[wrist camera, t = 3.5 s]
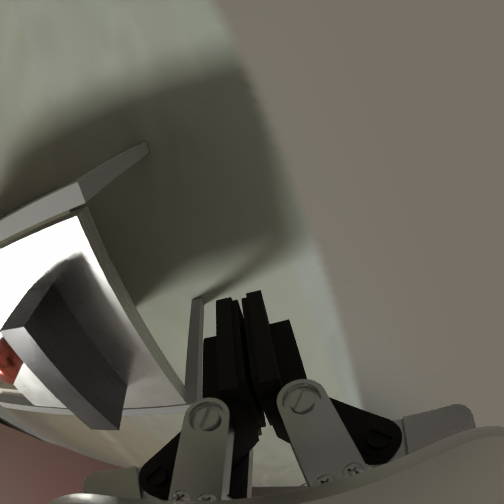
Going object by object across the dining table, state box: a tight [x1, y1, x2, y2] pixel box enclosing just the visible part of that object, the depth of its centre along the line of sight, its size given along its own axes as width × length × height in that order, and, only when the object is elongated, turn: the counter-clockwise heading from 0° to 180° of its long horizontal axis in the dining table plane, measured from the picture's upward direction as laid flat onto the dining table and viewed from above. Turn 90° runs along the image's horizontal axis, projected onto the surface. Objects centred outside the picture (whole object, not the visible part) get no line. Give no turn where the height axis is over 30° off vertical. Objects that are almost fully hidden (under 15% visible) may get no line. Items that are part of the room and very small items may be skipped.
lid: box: [0, 206, 187, 430], centre depth 11 cm, size 11×13×4 cm
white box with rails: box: [0, 142, 204, 416], centre depth 16 cm, size 14×22×10 cm, turn 102°
